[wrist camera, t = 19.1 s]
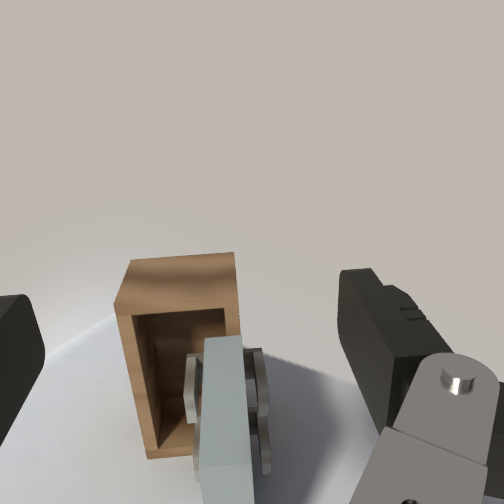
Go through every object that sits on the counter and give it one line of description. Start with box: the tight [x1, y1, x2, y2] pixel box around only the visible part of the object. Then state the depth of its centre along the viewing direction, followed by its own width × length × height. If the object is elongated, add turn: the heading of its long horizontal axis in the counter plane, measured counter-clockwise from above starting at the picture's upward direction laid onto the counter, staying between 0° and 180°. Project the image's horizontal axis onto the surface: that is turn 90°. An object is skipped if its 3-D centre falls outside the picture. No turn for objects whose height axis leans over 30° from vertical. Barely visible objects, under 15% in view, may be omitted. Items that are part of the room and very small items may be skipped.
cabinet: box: [114, 252, 271, 482], centre depth 40 cm, size 12×12×18 cm
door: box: [199, 335, 254, 504], centre depth 33 cm, size 12×3×15 cm, turn 4°
